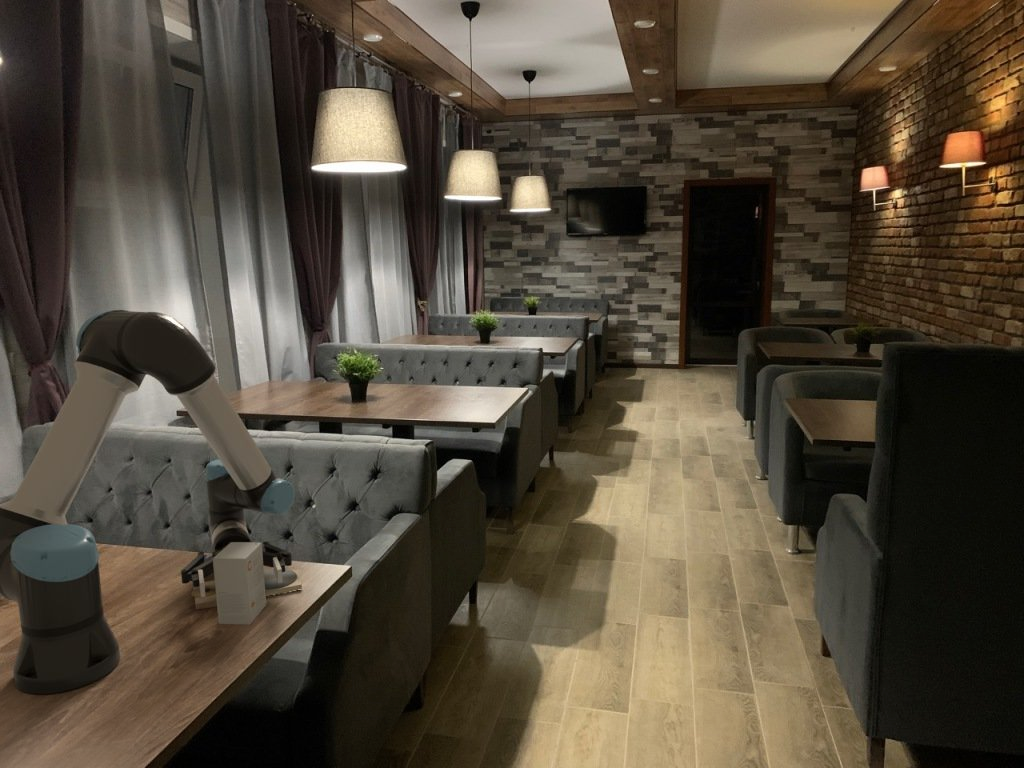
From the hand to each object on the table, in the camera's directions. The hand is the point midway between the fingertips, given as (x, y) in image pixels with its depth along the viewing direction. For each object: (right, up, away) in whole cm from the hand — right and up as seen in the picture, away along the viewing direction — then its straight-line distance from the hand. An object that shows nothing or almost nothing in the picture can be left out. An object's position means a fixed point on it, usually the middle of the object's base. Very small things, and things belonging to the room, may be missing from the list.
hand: (242, 583), depth 141 cm
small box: (-1, -7, +4) cm, 8 cm away
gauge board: (-4, -5, +14) cm, 16 cm away
